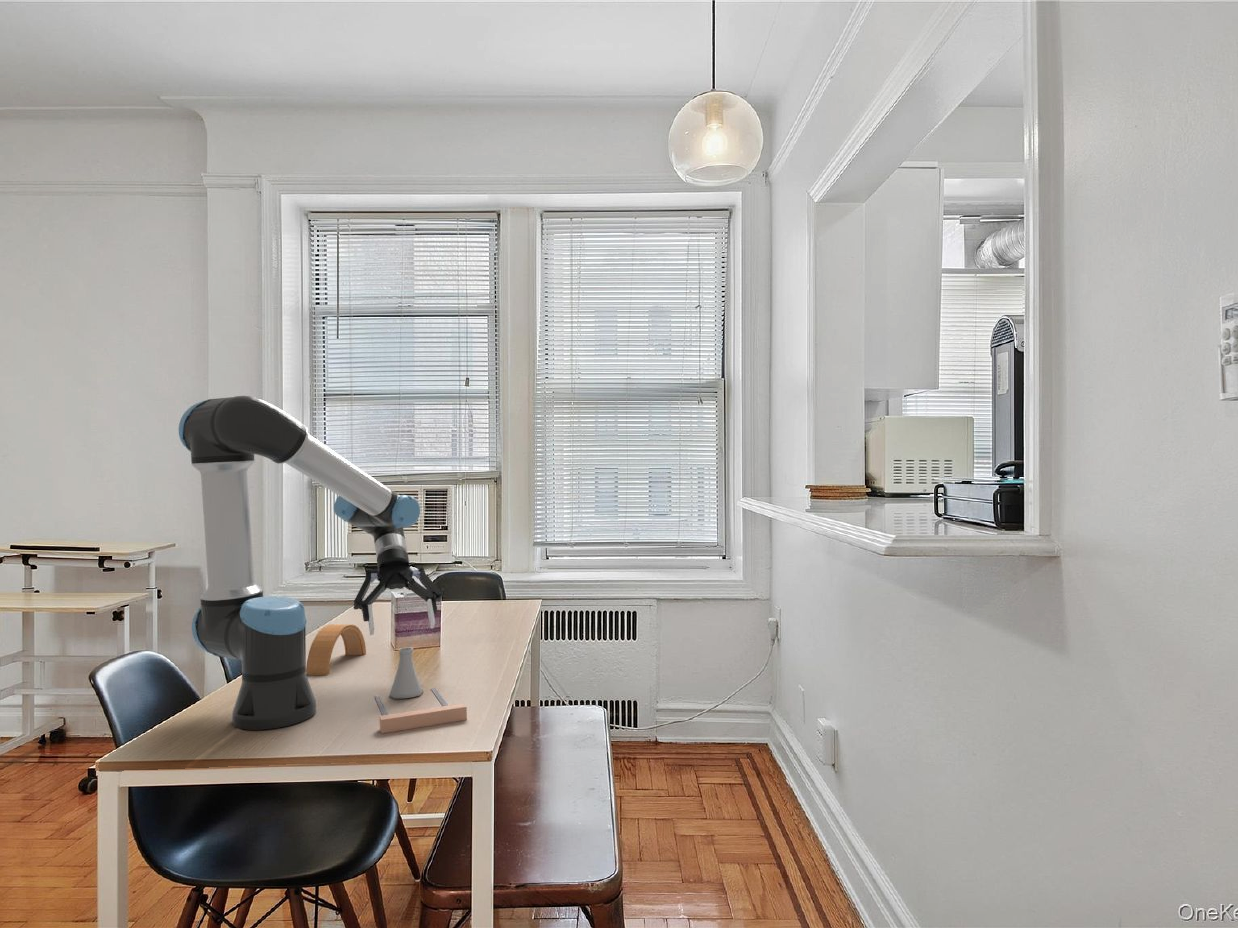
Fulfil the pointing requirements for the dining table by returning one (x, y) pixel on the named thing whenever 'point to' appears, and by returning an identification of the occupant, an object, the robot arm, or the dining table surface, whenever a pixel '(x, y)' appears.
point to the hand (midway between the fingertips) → (403, 628)
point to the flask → (406, 677)
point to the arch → (325, 644)
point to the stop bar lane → (421, 716)
